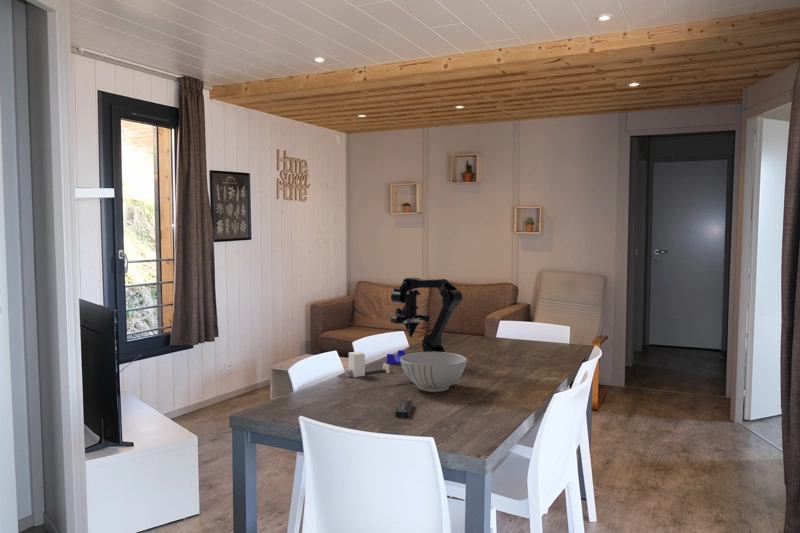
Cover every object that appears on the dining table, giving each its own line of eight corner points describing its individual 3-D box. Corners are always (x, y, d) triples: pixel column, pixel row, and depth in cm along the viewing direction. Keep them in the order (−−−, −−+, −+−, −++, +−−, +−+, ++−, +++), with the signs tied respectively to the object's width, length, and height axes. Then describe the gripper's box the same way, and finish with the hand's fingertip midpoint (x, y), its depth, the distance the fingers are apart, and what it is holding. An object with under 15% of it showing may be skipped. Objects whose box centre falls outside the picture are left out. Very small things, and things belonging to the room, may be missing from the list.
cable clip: (396, 362, 293) (396, 349, 293) (404, 363, 291) (405, 350, 291) (384, 366, 283) (384, 354, 282) (392, 367, 281) (392, 355, 280)
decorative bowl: (410, 399, 227) (411, 367, 227) (392, 382, 253) (392, 353, 253) (477, 394, 235) (477, 363, 234) (453, 378, 260) (453, 350, 260)
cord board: (382, 372, 271) (383, 361, 271) (393, 376, 262) (393, 366, 262) (341, 377, 261) (341, 366, 261) (351, 382, 253) (351, 371, 252)
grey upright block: (359, 373, 263) (359, 351, 262) (364, 375, 258) (364, 353, 258) (348, 374, 260) (348, 352, 260) (354, 377, 256) (354, 354, 255)
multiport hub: (412, 406, 219) (412, 400, 219) (408, 419, 204) (408, 412, 204) (400, 406, 219) (400, 400, 219) (395, 418, 205) (395, 411, 205)
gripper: (418, 301, 298) (418, 332, 299) (385, 303, 289) (385, 335, 290) (430, 303, 288) (430, 336, 289) (396, 305, 279) (396, 339, 280)
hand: (410, 336), depth 287 cm, fingers closed
